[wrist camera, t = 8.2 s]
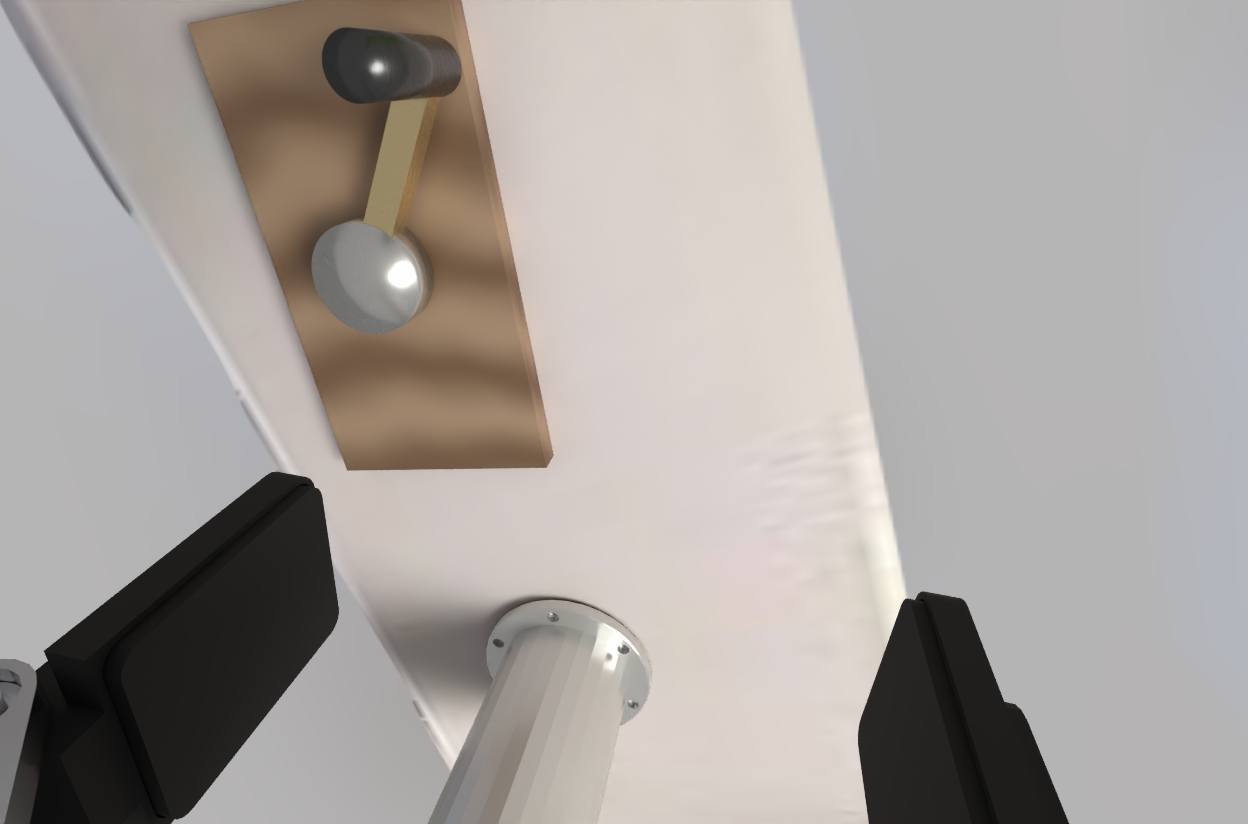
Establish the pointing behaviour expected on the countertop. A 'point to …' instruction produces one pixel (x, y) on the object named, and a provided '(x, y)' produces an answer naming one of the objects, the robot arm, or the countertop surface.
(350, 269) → the ice cream scoop
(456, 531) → the countertop surface
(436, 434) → the brown flat rectangular board
